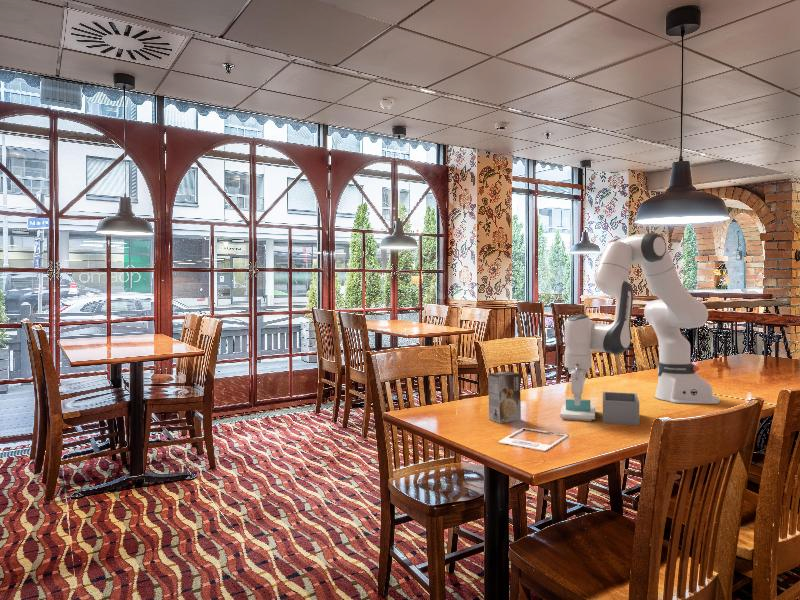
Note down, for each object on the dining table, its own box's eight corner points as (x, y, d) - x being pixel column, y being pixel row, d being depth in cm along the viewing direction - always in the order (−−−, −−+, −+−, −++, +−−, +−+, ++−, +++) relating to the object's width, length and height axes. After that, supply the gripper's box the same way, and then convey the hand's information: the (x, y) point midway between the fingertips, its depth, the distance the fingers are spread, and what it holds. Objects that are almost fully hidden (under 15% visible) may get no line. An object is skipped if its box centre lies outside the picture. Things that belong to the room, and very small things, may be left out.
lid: (595, 412, 197) (595, 396, 196) (594, 422, 182) (594, 405, 182) (563, 410, 200) (562, 394, 200) (559, 420, 186) (559, 403, 186)
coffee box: (509, 416, 195) (509, 370, 194) (521, 420, 189) (521, 373, 189) (488, 419, 191) (487, 373, 190) (499, 423, 185) (499, 376, 184)
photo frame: (497, 441, 163) (523, 427, 178) (497, 444, 163) (523, 430, 178) (545, 449, 155) (568, 434, 169) (545, 453, 155) (568, 438, 169)
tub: (636, 416, 192) (636, 393, 192) (639, 427, 178) (639, 402, 177) (602, 414, 196) (602, 391, 195) (602, 425, 182) (602, 400, 181)
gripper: (586, 367, 180) (586, 409, 180) (588, 358, 199) (588, 396, 200) (566, 366, 182) (566, 408, 182) (569, 357, 201) (570, 395, 202)
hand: (578, 402), depth 191 cm, fingers open, 8 cm apart
